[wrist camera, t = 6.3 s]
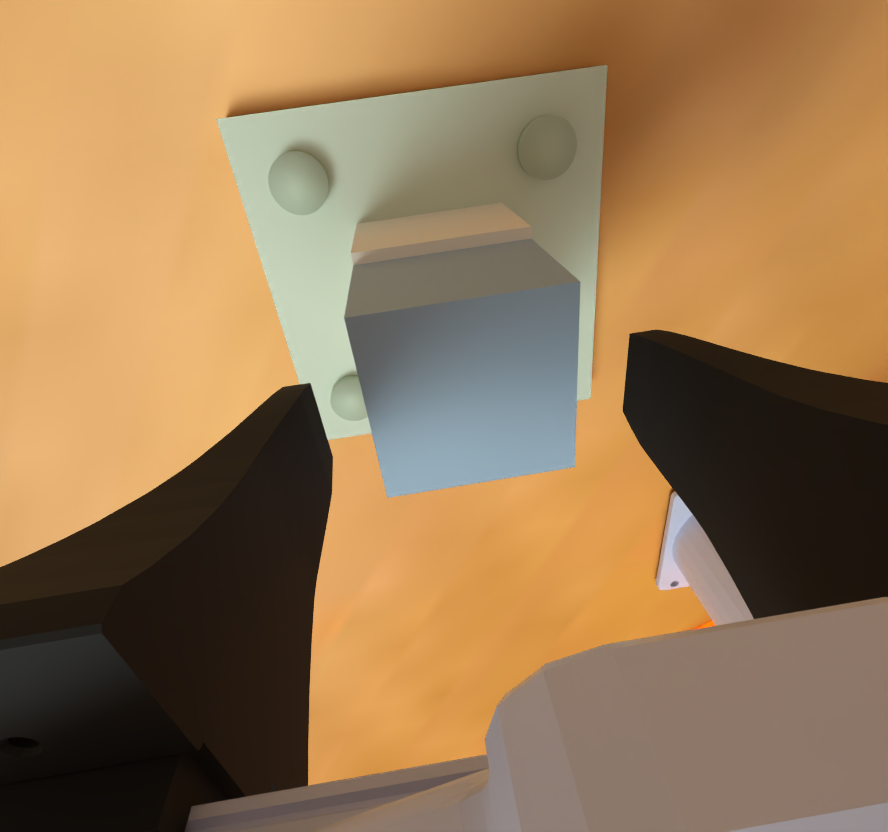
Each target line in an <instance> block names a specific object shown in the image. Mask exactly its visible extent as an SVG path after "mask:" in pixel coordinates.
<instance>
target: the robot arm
mask: <svg viewBox="0 0 888 832" xmlns="http://www.w3.org/2000/svg"><path fill="white" fill-rule="evenodd" d="M623 413H624V415H625V417H626V419H627V421H628V423H629V425H630V427H631V429H632V430H633V432H634V434H635V436H636V438H637V440H638V441H639V443H640V445H641V446H642V448H643V449H644V450H645V452H646V453H647V455H648V456H649V457H650V459H651V460H652V461H653V463H654V464H655V465H656V467H657V468H658V469H659V471H660V472H661V473H662V475H663V476H664V477H665V479H666V480H667V481H668V483H669V484H670V485H671V487H672V488H673V489H674V490H675V491H674V492H673V493H672V495H671V498H670V504H669V510H668V515H667V521H666V527H665V532H664V538H663V544H662V549H661V555H660V561H659V566H658V572H657V578H656V585H657V587H658V588H659V589H660V590H669V589H675V588H681V587H687V586H690V587H691V588H692V590H693V591H694V593H695V595H696V596H697V598H698V599H699V601H700V602H701V604H702V605H703V607H704V609H705V610H706V612H707V613H708V615H709V616H710V618H711V619H712V621H713V623H714V624H715V626H711V627H705V628H700V629H694V630H688V631H682V632H676V633H670V634H664V635H658V636H653V637H647V638H641V639H635V640H629V641H623V642H617V643H612V644H606V645H602V646H599V647H596V648H593V649H590V650H587V651H584V652H581V653H577V654H574V655H571V656H568V657H565V658H562V659H559V660H556V661H553V662H550V663H547V664H545V665H544V666H542V667H541V668H540V669H538V670H537V671H536V672H534V673H533V674H532V675H530V676H529V677H528V678H526V679H525V680H524V681H522V682H521V683H520V684H518V685H517V686H516V687H514V688H513V689H512V690H510V691H509V692H508V693H506V694H505V696H504V697H503V698H502V700H501V701H500V702H499V704H498V705H497V707H496V710H495V713H494V716H493V718H492V721H491V724H490V727H489V729H488V732H487V735H486V738H485V744H486V751H487V754H486V755H481V756H475V757H469V758H464V759H458V760H452V761H446V762H441V763H435V764H429V765H424V766H418V767H412V768H407V769H401V770H395V771H389V772H384V773H378V774H372V775H367V776H361V777H355V778H349V779H344V780H338V781H332V782H327V783H321V784H315V785H310V786H308V726H309V686H310V664H311V641H312V625H313V610H314V596H315V588H316V580H317V574H318V569H319V563H320V557H321V552H322V546H323V541H324V535H325V530H326V524H327V519H328V513H329V507H330V501H331V495H332V468H333V456H332V453H331V450H330V446H329V443H328V440H327V436H326V433H325V430H324V426H323V423H322V420H321V416H320V413H319V410H318V406H317V403H316V400H315V396H314V393H313V390H312V386H311V383H306V384H300V385H293V386H287V387H282V388H281V389H279V390H278V391H277V392H275V393H274V394H273V395H272V396H271V397H269V398H268V399H267V400H266V401H265V402H264V403H263V404H262V405H260V406H259V407H258V408H257V409H256V410H255V411H254V412H253V413H252V414H250V415H249V416H248V417H247V418H246V419H245V420H244V421H243V422H241V423H240V424H239V425H238V426H237V427H236V428H235V429H234V430H232V431H231V432H230V433H229V434H228V435H226V436H225V437H224V438H223V439H221V440H220V441H219V442H218V443H217V444H215V445H214V446H213V447H212V448H210V449H209V450H208V451H207V452H205V453H204V454H203V455H202V456H200V457H199V458H198V459H197V460H195V461H194V462H193V463H191V464H190V465H189V466H187V467H186V468H184V469H183V470H182V471H180V472H179V473H177V474H176V475H174V476H173V477H171V478H170V479H168V480H167V481H165V482H164V483H162V484H161V485H159V486H158V487H156V488H155V489H153V490H152V491H150V492H148V493H147V494H145V495H143V496H142V497H140V498H138V499H136V500H135V501H133V502H131V503H129V504H128V505H126V506H124V507H122V508H121V509H119V510H117V511H115V512H114V513H112V514H110V515H108V516H107V517H105V518H103V519H101V520H100V521H98V522H96V523H94V524H92V525H90V526H88V527H86V528H84V529H82V530H80V531H78V532H76V533H74V534H72V535H70V536H68V537H66V538H64V539H62V540H60V541H58V542H56V543H54V544H52V545H49V546H47V547H45V548H43V549H41V550H39V551H37V552H35V553H32V554H30V555H28V556H26V557H23V558H21V559H19V560H17V561H14V562H12V563H10V564H7V565H5V566H2V567H0V832H888V383H883V382H876V381H869V380H863V379H857V378H852V377H846V376H841V375H836V374H830V373H825V372H820V371H815V370H810V369H806V368H801V367H797V366H793V365H789V364H785V363H781V362H777V361H773V360H769V359H765V358H762V357H758V356H754V355H751V354H747V353H744V352H740V351H737V350H733V349H730V348H727V347H723V346H720V345H716V344H713V343H710V342H706V341H703V340H699V339H696V338H693V337H689V336H685V335H681V334H678V333H673V332H669V331H663V330H651V331H645V332H638V333H632V334H630V337H629V348H628V359H627V370H626V381H625V391H624V402H623Z"/></svg>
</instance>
